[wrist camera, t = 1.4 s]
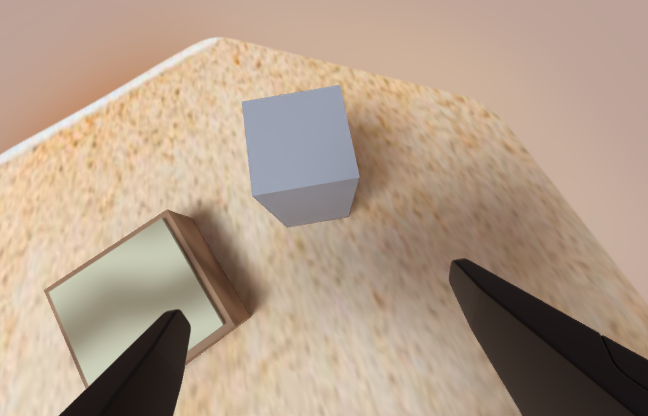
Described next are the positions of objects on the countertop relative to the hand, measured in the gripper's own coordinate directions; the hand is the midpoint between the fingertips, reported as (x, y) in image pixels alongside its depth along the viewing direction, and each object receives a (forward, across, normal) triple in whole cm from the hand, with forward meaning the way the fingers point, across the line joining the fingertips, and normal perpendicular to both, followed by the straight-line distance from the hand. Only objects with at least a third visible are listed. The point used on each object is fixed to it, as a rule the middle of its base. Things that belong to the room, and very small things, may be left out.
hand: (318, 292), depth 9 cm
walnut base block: (+10, +13, +9) cm, 19 cm away
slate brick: (+15, 0, +4) cm, 15 cm away
